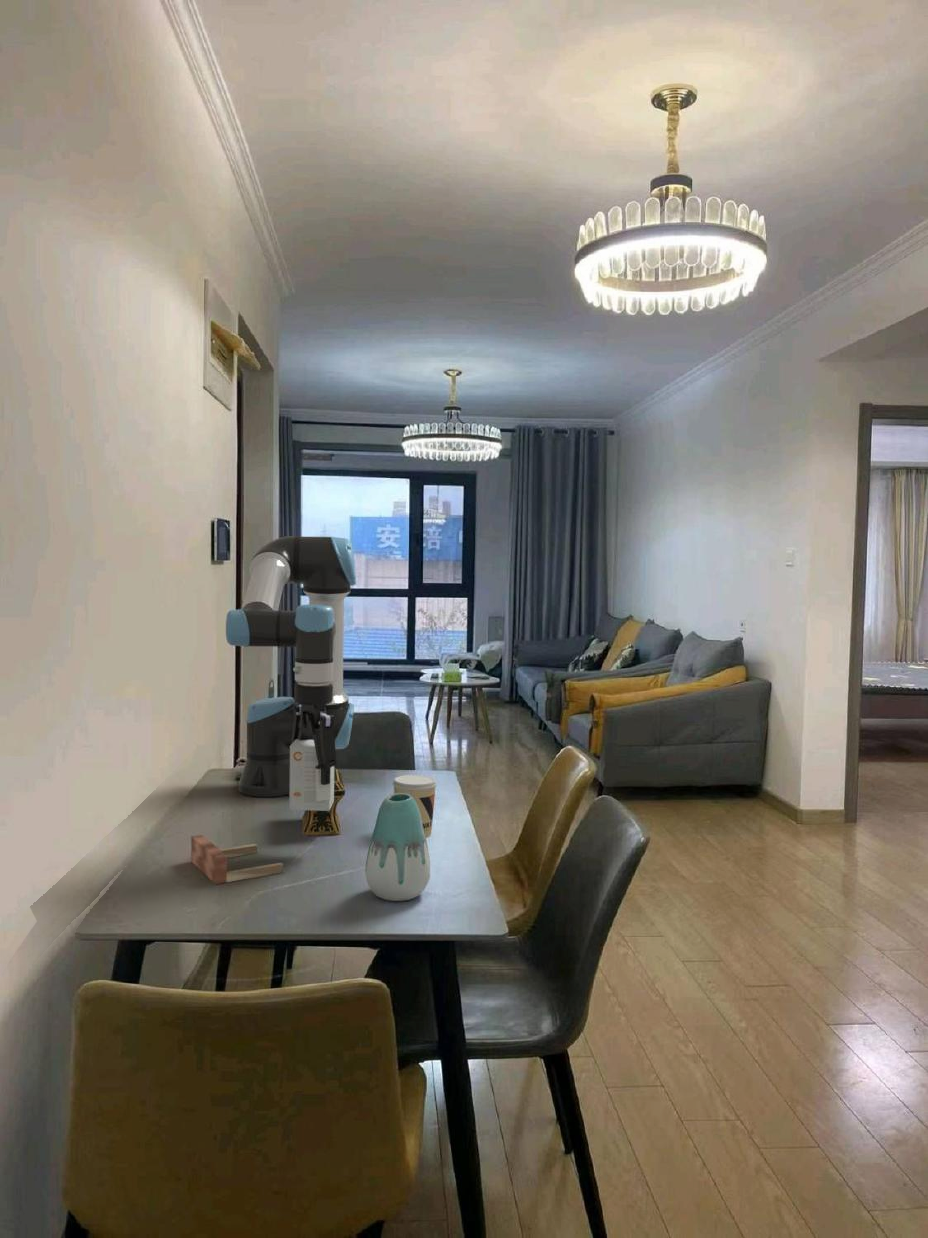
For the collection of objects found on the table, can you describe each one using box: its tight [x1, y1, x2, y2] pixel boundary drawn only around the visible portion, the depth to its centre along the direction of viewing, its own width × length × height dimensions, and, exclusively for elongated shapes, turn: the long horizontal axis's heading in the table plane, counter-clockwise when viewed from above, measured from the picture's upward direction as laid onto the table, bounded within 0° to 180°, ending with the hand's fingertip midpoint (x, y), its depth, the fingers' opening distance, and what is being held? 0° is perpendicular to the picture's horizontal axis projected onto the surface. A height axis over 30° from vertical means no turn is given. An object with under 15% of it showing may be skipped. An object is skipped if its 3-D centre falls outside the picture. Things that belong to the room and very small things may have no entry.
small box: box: [289, 739, 335, 811], centre depth 186 cm, size 8×6×13 cm
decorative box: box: [301, 768, 346, 837], centre depth 203 cm, size 20×10×20 cm, turn 10°
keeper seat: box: [190, 834, 284, 885], centre depth 178 cm, size 14×13×5 cm
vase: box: [364, 793, 431, 902], centre depth 165 cm, size 12×12×18 cm
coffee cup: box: [392, 774, 437, 839], centre depth 202 cm, size 9×9×12 cm
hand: (312, 793), depth 186 cm, fingers closed on small box, 9 cm apart
